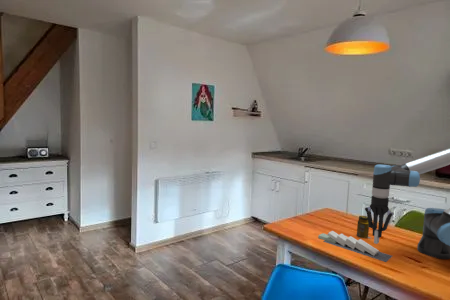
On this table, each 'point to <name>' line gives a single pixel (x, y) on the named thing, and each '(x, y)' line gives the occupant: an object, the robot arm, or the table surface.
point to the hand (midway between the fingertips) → (376, 242)
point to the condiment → (363, 227)
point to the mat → (378, 256)
